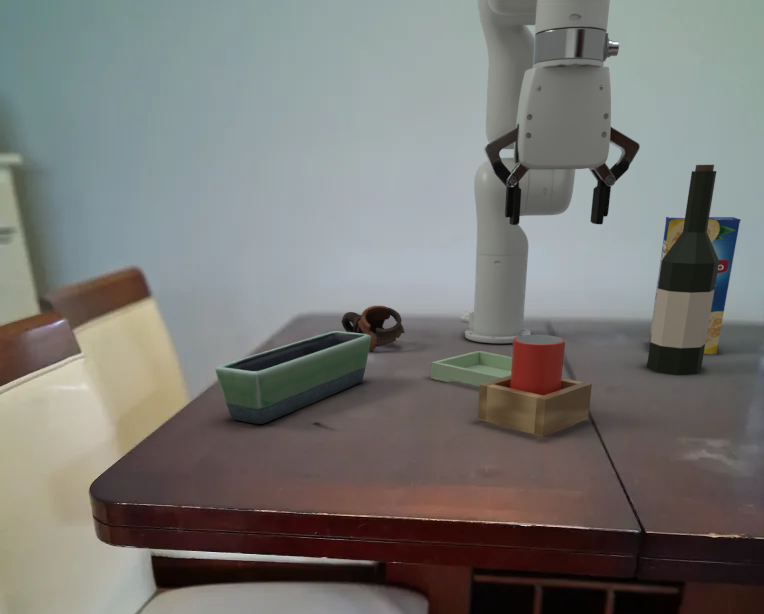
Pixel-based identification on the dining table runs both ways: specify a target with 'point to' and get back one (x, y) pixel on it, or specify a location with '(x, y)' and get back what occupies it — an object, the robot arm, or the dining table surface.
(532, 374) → the can
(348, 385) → the planter
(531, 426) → the box
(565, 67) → the robot arm
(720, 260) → the beverage box
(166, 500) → the dining table surface
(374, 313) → the pottery mug
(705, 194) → the wine bottle
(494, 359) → the tray
